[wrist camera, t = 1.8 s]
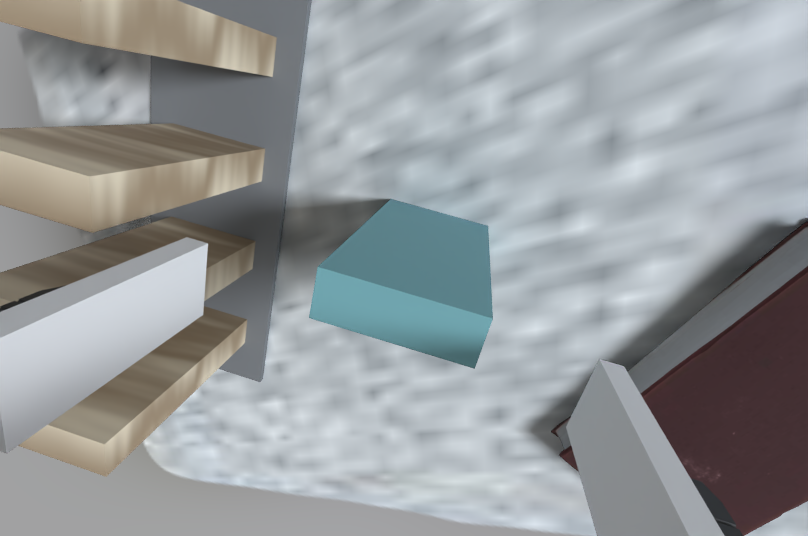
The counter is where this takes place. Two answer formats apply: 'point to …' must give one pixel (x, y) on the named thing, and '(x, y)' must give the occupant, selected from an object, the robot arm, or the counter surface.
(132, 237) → the light wood flat block
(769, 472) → the book
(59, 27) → the light wood flat block
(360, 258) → the tile
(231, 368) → the runner mat
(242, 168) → the beige wooden block
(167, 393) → the tile
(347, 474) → the counter surface
